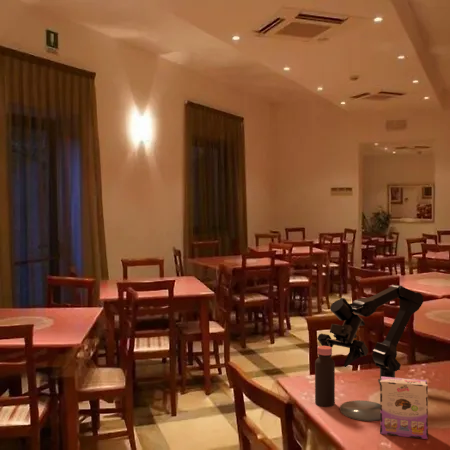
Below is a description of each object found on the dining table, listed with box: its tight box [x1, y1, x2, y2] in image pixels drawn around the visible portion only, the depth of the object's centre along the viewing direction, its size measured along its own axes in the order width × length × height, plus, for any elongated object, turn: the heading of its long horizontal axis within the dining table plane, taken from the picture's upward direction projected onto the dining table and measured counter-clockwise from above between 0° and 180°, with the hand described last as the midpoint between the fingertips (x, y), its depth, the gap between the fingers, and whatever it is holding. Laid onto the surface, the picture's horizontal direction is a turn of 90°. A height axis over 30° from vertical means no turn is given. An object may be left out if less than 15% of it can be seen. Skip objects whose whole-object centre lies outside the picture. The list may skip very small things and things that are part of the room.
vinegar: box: [314, 345, 336, 407], centre depth 189 cm, size 7×7×20 cm
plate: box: [339, 399, 380, 422], centre depth 181 cm, size 16×16×1 cm
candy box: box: [379, 376, 429, 440], centre depth 164 cm, size 14×6×16 cm, turn 71°
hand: (333, 363), depth 193 cm, fingers open, 9 cm apart
